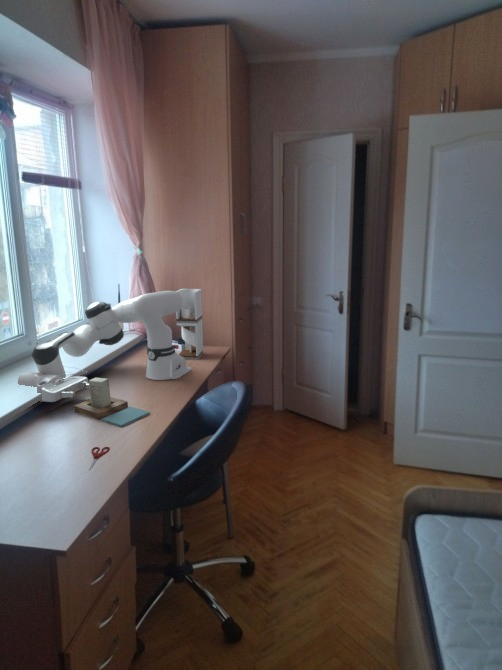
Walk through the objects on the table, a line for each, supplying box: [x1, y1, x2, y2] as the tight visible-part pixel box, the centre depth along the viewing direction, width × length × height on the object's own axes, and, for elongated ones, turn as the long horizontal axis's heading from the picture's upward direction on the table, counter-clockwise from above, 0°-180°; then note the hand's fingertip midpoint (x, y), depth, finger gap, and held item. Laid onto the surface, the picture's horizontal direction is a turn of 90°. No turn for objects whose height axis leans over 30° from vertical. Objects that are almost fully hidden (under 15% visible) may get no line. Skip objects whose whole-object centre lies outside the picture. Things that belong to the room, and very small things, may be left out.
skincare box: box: [88, 377, 111, 409], centre depth 184 cm, size 6×4×12 cm
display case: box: [175, 288, 204, 361], centre depth 252 cm, size 11×11×35 cm
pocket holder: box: [73, 396, 129, 421], centre depth 186 cm, size 14×14×2 cm
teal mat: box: [101, 406, 151, 428], centre depth 179 cm, size 14×10×1 cm
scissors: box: [89, 446, 111, 471], centre depth 149 cm, size 5×14×1 cm, turn 2°
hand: (82, 390), depth 187 cm, fingers open, 8 cm apart
